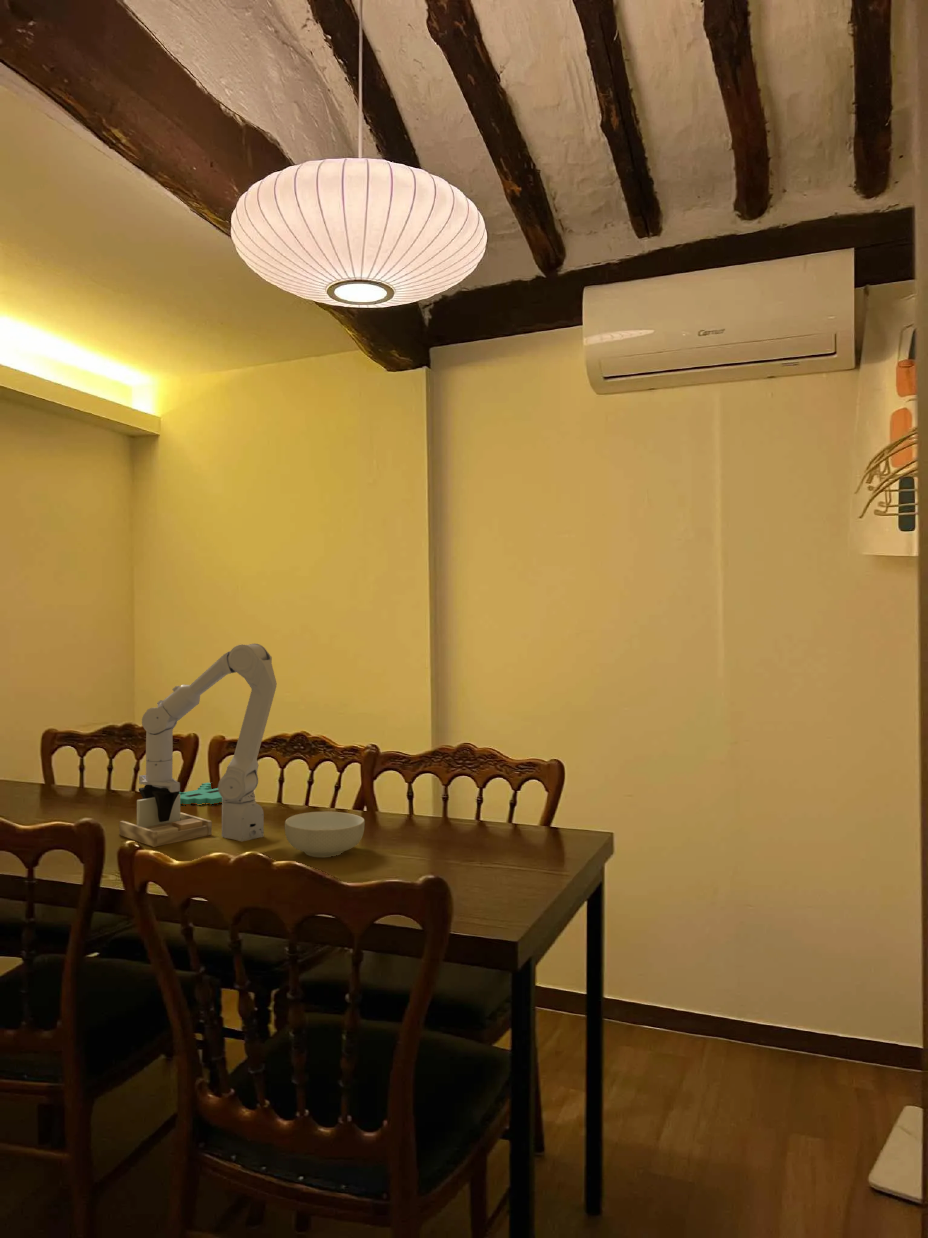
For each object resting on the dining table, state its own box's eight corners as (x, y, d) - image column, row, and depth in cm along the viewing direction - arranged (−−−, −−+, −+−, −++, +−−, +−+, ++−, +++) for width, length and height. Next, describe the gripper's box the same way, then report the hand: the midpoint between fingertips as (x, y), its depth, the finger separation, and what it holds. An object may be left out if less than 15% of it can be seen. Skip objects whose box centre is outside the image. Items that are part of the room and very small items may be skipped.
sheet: (180, 828, 195) (180, 794, 195) (139, 836, 187) (139, 801, 187) (177, 827, 196) (177, 793, 196) (136, 836, 188) (136, 800, 188)
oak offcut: (202, 834, 190) (202, 821, 190) (181, 838, 186) (181, 825, 186) (192, 831, 192) (192, 818, 192) (171, 835, 188) (172, 822, 188)
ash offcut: (178, 839, 185) (178, 828, 185) (156, 844, 181) (156, 832, 181) (168, 836, 188) (168, 825, 188) (146, 840, 184) (146, 829, 184)
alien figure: (146, 801, 231) (189, 811, 219) (146, 793, 231) (190, 803, 219) (208, 790, 247) (251, 799, 235) (208, 782, 247) (251, 791, 235)
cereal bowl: (324, 869, 168) (325, 833, 168) (267, 855, 177) (268, 821, 177) (380, 850, 182) (380, 817, 182) (324, 838, 191) (325, 807, 191)
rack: (211, 838, 190) (211, 821, 190) (153, 851, 179) (153, 832, 179) (176, 827, 200) (176, 811, 200) (119, 839, 189) (119, 821, 189)
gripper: (126, 758, 193) (126, 817, 193) (159, 765, 184) (159, 827, 184) (155, 754, 199) (154, 812, 199) (188, 761, 189) (188, 822, 189)
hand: (158, 819), depth 191 cm, fingers open, 4 cm apart
